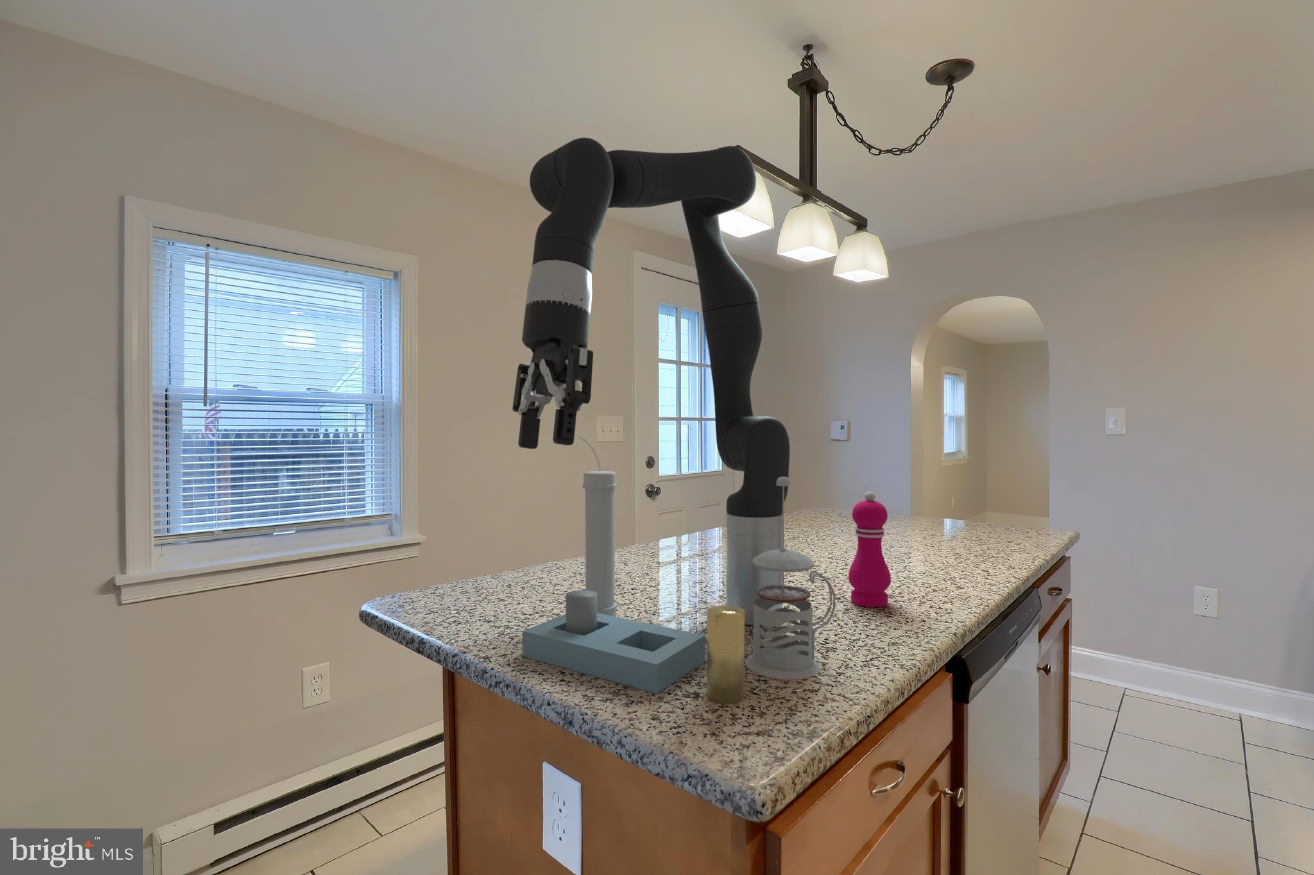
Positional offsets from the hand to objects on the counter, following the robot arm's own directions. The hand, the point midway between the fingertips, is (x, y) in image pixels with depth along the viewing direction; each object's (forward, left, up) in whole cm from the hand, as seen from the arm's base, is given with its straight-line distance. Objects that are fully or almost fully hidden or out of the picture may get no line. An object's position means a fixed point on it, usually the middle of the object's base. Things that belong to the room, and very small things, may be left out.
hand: (544, 446), depth 69 cm
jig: (-15, -2, -29) cm, 33 cm away
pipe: (-27, -14, -30) cm, 42 cm away
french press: (-26, +19, -30) cm, 44 cm away
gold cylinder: (-13, +16, -29) cm, 36 cm away
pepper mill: (-61, +21, -30) cm, 71 cm away
